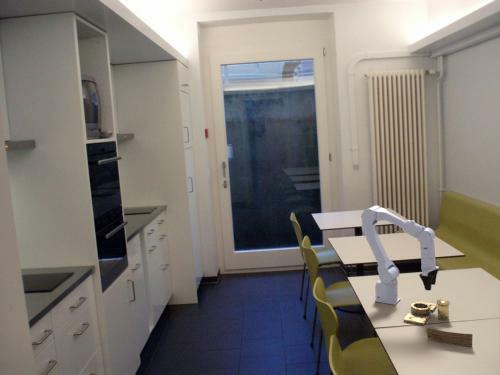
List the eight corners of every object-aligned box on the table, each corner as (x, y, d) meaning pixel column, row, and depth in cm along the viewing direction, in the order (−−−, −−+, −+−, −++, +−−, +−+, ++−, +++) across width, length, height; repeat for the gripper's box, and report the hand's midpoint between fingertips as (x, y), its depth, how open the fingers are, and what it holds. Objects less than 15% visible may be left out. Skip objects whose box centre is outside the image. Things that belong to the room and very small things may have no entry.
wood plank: (472, 346, 171) (472, 333, 170) (472, 348, 169) (472, 335, 168) (427, 338, 178) (427, 326, 177) (426, 341, 176) (426, 328, 176)
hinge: (403, 321, 193) (403, 313, 193) (418, 303, 211) (418, 295, 211) (423, 325, 189) (423, 317, 188) (436, 306, 207) (436, 298, 206)
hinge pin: (435, 318, 194) (435, 302, 193) (438, 314, 198) (438, 298, 197) (448, 321, 192) (448, 304, 191) (450, 316, 196) (450, 300, 195)
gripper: (433, 261, 194) (436, 293, 195) (441, 252, 205) (443, 282, 207) (416, 260, 198) (418, 292, 199) (425, 252, 209) (427, 281, 211)
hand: (430, 287), depth 203 cm, fingers open, 7 cm apart
